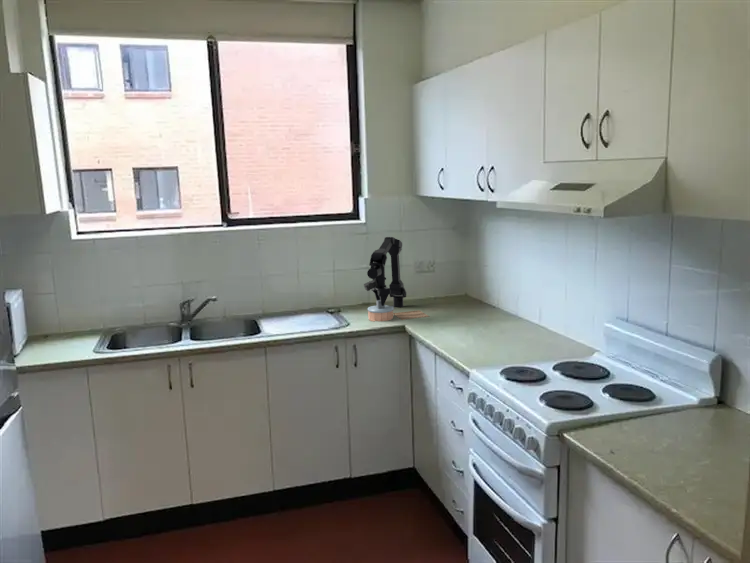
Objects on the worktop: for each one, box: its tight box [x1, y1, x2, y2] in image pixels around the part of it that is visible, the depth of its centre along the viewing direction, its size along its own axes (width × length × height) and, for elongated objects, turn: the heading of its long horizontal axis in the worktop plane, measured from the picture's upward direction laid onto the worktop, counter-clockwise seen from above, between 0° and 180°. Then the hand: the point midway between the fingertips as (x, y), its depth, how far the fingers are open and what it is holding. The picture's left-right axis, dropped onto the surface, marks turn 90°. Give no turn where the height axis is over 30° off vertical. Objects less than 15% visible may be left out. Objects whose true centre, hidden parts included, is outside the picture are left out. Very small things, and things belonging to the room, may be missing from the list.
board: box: [393, 309, 430, 321], centre depth 341 cm, size 16×16×1 cm
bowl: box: [367, 310, 394, 322], centre depth 336 cm, size 13×13×5 cm
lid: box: [367, 300, 395, 313], centre depth 335 cm, size 14×14×5 cm
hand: (380, 304), depth 335 cm, fingers open, 7 cm apart
